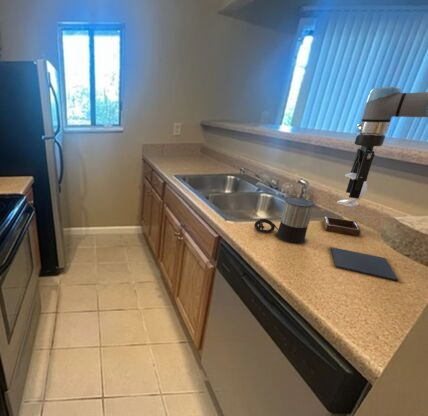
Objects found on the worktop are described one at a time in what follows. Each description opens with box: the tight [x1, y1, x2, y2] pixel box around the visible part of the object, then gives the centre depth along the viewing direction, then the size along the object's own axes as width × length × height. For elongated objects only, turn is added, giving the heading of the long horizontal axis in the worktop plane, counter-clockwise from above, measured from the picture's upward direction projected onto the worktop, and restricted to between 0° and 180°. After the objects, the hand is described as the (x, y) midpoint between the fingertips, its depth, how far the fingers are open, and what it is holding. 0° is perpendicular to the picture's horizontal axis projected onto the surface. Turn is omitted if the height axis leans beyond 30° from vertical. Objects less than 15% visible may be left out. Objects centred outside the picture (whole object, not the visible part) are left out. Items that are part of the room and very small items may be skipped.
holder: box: [323, 216, 361, 237], centre depth 111 cm, size 10×10×2 cm
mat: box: [330, 246, 399, 282], centre depth 88 cm, size 14×14×1 cm
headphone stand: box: [336, 172, 368, 208], centre depth 106 cm, size 5×6×12 cm
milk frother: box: [254, 197, 316, 244], centre depth 105 cm, size 14×16×15 cm
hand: (352, 195), depth 106 cm, fingers closed on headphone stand, 6 cm apart
